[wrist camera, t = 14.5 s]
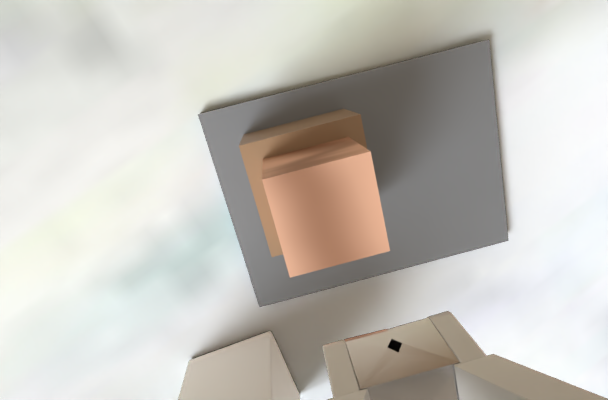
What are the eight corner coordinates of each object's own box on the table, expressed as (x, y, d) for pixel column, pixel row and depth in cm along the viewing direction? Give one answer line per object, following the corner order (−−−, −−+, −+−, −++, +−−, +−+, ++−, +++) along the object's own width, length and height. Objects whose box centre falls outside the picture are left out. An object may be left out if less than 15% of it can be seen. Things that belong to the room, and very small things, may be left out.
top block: (348, 136, 23) (370, 151, 18) (365, 217, 24) (389, 250, 19) (262, 159, 22) (262, 179, 18) (284, 238, 24) (289, 277, 19)
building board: (482, 40, 27) (538, 30, 22) (502, 236, 32) (552, 269, 26) (199, 113, 27) (183, 121, 21) (259, 301, 31) (258, 348, 26)
